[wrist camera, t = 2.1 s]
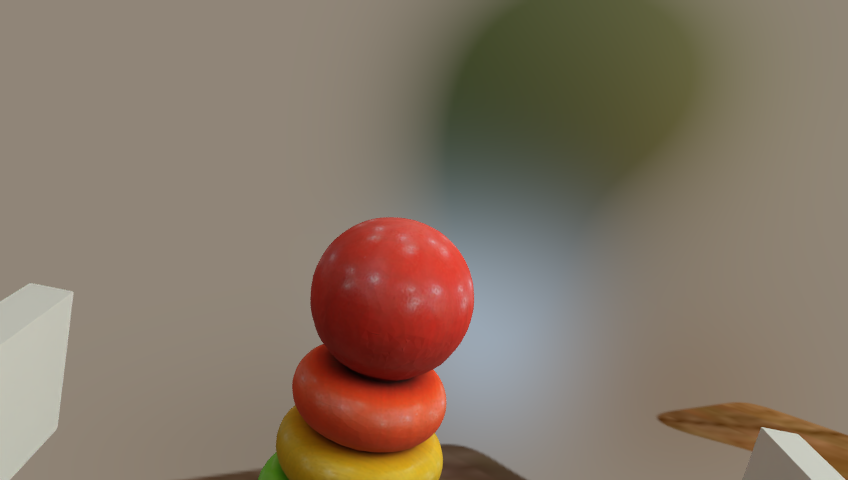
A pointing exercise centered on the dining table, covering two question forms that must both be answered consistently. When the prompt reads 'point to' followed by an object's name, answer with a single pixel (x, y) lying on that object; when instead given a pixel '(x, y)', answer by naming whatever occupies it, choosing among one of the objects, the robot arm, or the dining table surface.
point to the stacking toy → (376, 357)
